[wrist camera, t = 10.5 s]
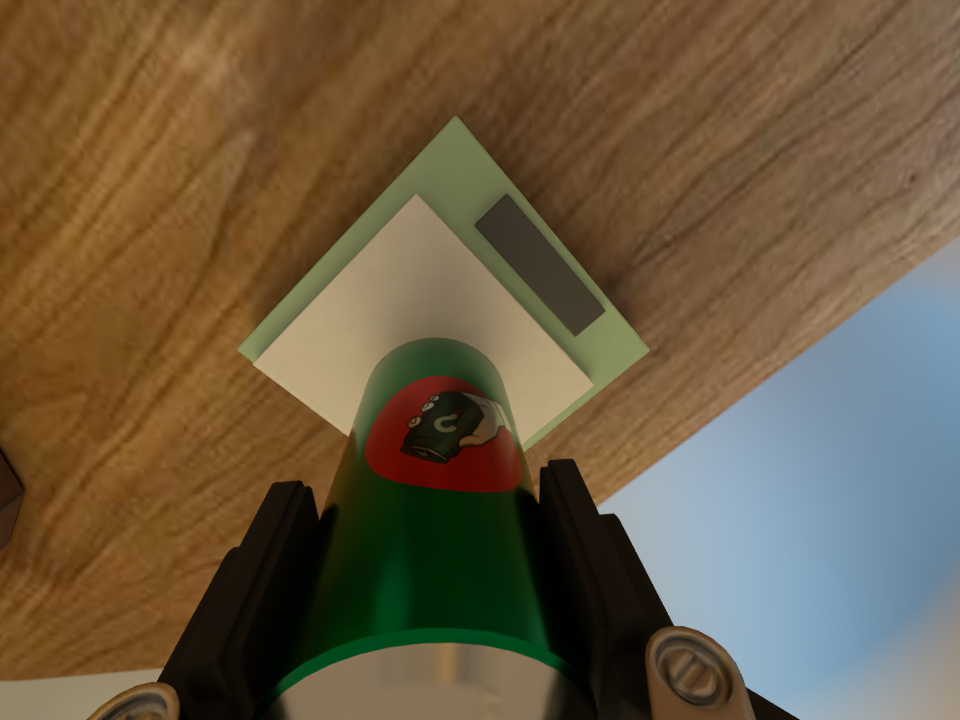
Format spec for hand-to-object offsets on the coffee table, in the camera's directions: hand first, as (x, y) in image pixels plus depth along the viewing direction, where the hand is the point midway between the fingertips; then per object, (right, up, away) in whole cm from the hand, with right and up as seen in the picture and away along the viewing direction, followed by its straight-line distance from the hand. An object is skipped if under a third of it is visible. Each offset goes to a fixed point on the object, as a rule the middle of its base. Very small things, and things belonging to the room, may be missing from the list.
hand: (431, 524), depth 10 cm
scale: (0, +5, +10) cm, 11 cm away
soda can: (-1, +3, +6) cm, 7 cm away
